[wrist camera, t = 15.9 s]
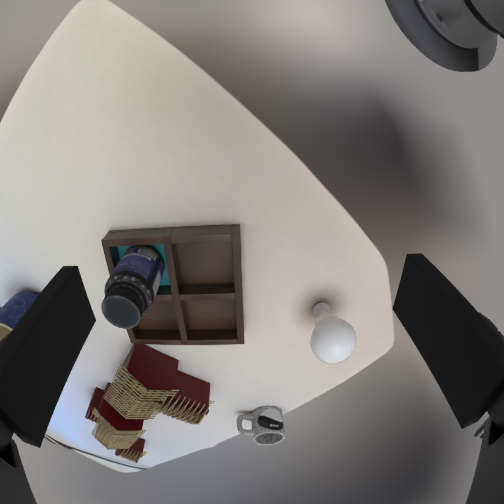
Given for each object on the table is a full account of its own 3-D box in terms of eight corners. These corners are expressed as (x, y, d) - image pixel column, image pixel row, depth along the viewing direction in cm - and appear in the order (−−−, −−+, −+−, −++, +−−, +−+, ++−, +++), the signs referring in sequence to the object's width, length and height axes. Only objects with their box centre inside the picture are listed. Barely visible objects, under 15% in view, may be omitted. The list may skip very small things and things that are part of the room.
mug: (285, 407, 58) (289, 432, 52) (276, 421, 61) (279, 445, 55) (240, 403, 56) (241, 429, 50) (233, 418, 59) (233, 443, 53)
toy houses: (121, 333, 46) (104, 377, 37) (224, 379, 52) (224, 424, 43) (80, 423, 62) (71, 452, 53) (146, 450, 68) (142, 479, 59)
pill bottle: (115, 255, 39) (84, 302, 29) (148, 235, 38) (121, 280, 28) (141, 288, 41) (119, 340, 31) (174, 270, 40) (158, 323, 30)
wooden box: (239, 224, 38) (240, 233, 36) (243, 330, 47) (244, 344, 44) (109, 230, 38) (101, 240, 35) (135, 331, 46) (131, 343, 43)
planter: (36, 339, 47) (14, 376, 37) (5, 289, 41) (-25, 324, 32) (77, 335, 46) (55, 378, 37) (43, 278, 41) (11, 318, 31)
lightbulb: (347, 305, 46) (370, 353, 36) (316, 328, 47) (332, 379, 38) (324, 282, 43) (347, 332, 34) (292, 308, 45) (305, 360, 35)
